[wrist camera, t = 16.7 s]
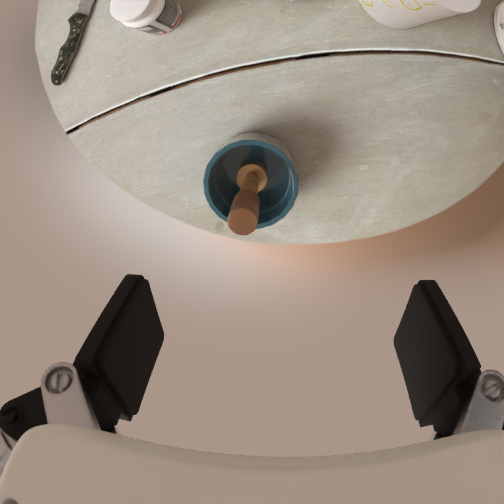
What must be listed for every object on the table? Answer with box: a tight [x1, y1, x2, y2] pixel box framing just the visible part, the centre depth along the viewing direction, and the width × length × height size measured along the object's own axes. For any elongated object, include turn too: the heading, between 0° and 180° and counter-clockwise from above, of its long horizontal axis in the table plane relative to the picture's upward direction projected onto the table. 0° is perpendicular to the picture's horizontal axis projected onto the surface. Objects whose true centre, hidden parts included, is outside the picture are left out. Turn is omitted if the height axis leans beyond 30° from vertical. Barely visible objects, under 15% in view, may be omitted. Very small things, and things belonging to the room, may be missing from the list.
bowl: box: [203, 132, 298, 229], centre depth 30 cm, size 9×9×6 cm
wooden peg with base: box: [227, 159, 268, 235], centre depth 27 cm, size 3×3×12 cm
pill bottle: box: [110, 0, 182, 35], centre depth 20 cm, size 5×5×8 cm
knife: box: [51, 0, 95, 85], centre depth 21 cm, size 20×1×3 cm
